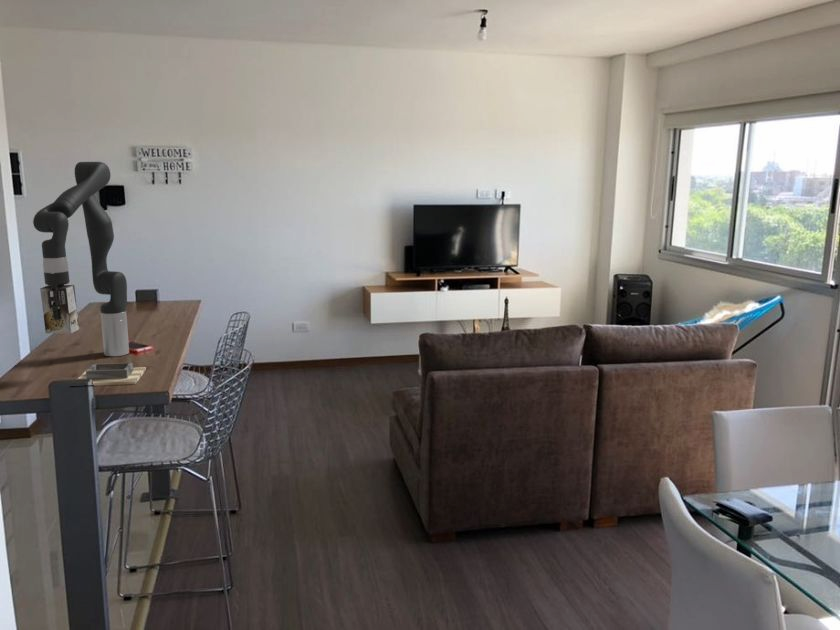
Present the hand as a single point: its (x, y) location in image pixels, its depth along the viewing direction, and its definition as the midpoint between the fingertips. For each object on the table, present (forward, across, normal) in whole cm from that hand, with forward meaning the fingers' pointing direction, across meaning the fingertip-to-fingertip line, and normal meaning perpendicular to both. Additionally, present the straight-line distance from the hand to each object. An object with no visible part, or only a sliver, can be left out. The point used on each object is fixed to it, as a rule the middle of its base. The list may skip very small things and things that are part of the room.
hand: (60, 317), depth 234 cm
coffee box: (+5, 0, 0) cm, 5 cm away
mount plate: (+21, +5, +16) cm, 27 cm away
